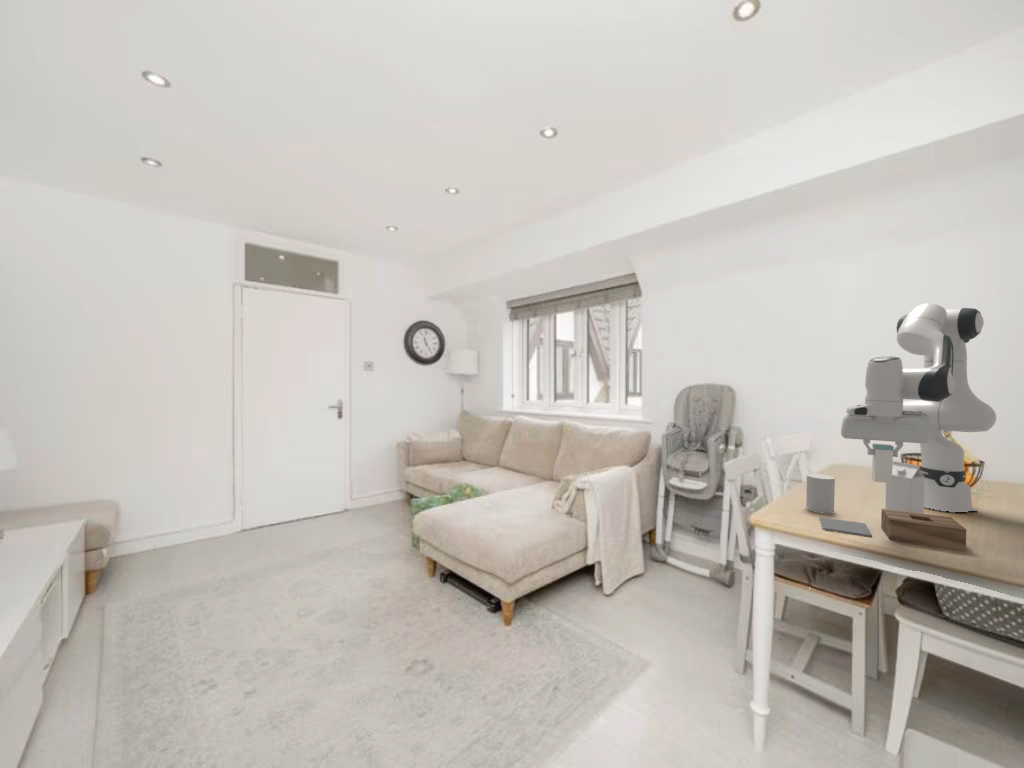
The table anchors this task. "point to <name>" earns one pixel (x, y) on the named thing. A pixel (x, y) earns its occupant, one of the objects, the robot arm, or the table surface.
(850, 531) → the mat
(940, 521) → the block
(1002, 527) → the table surface
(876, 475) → the plug
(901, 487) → the milk carton
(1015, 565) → the table surface
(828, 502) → the cup
